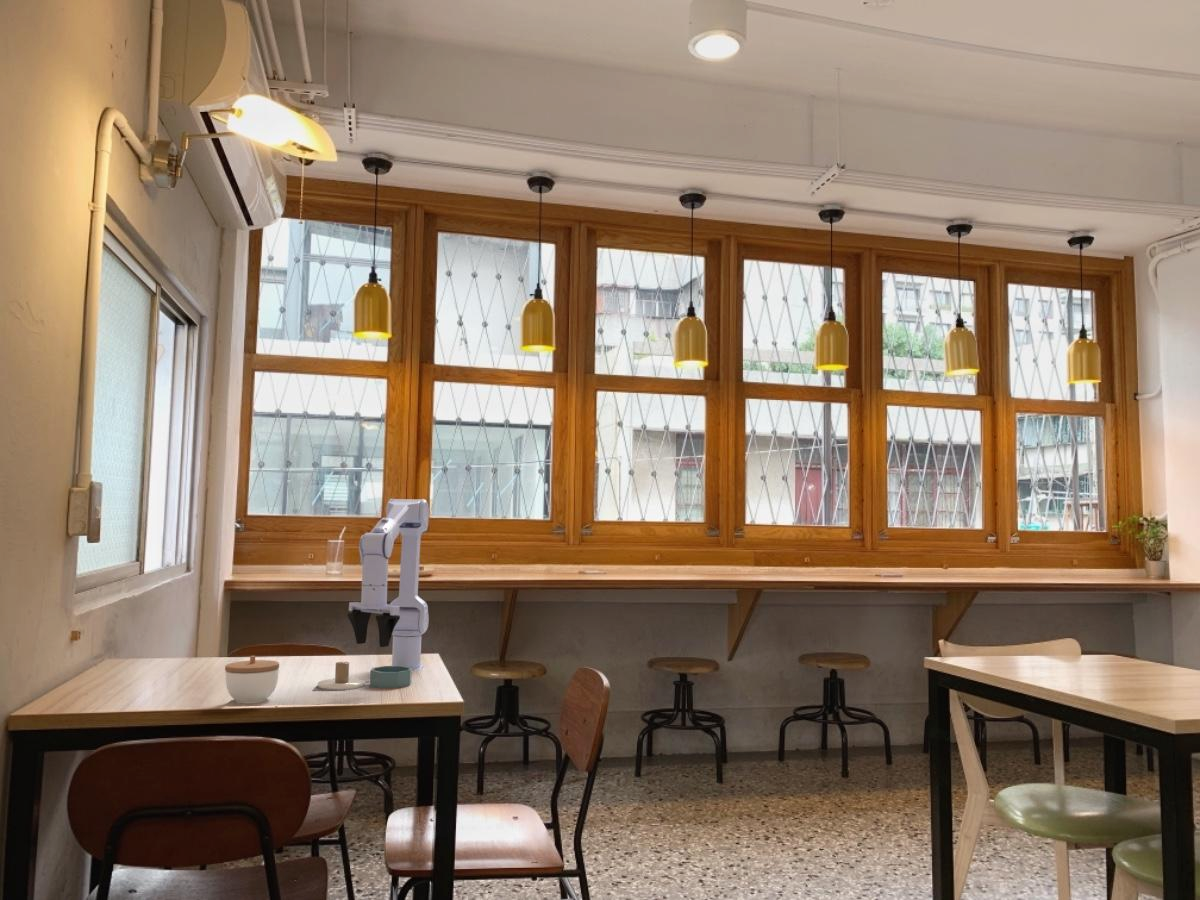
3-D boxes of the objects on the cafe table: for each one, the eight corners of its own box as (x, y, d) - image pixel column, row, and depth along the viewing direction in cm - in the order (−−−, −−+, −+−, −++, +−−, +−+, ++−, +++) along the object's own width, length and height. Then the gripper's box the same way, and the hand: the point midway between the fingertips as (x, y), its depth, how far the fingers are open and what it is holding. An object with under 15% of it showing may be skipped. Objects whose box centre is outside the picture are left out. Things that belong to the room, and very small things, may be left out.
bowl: (373, 683, 215) (374, 665, 216) (412, 682, 216) (413, 665, 217) (368, 690, 206) (368, 672, 207) (408, 690, 207) (409, 672, 208)
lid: (322, 681, 214) (323, 659, 214) (368, 681, 215) (369, 659, 215) (313, 690, 204) (314, 666, 204) (361, 690, 205) (362, 666, 205)
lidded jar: (287, 696, 198) (288, 652, 198) (264, 706, 187) (265, 660, 188) (239, 695, 199) (240, 652, 199) (214, 705, 188) (215, 659, 189)
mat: (321, 683, 214) (321, 681, 214) (369, 683, 215) (369, 681, 215) (311, 692, 203) (312, 690, 203) (362, 692, 204) (362, 690, 204)
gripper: (339, 584, 211) (337, 643, 210) (383, 588, 203) (381, 649, 202) (362, 582, 216) (360, 640, 216) (406, 586, 209) (404, 646, 208)
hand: (372, 644), depth 209 cm, fingers open, 7 cm apart
